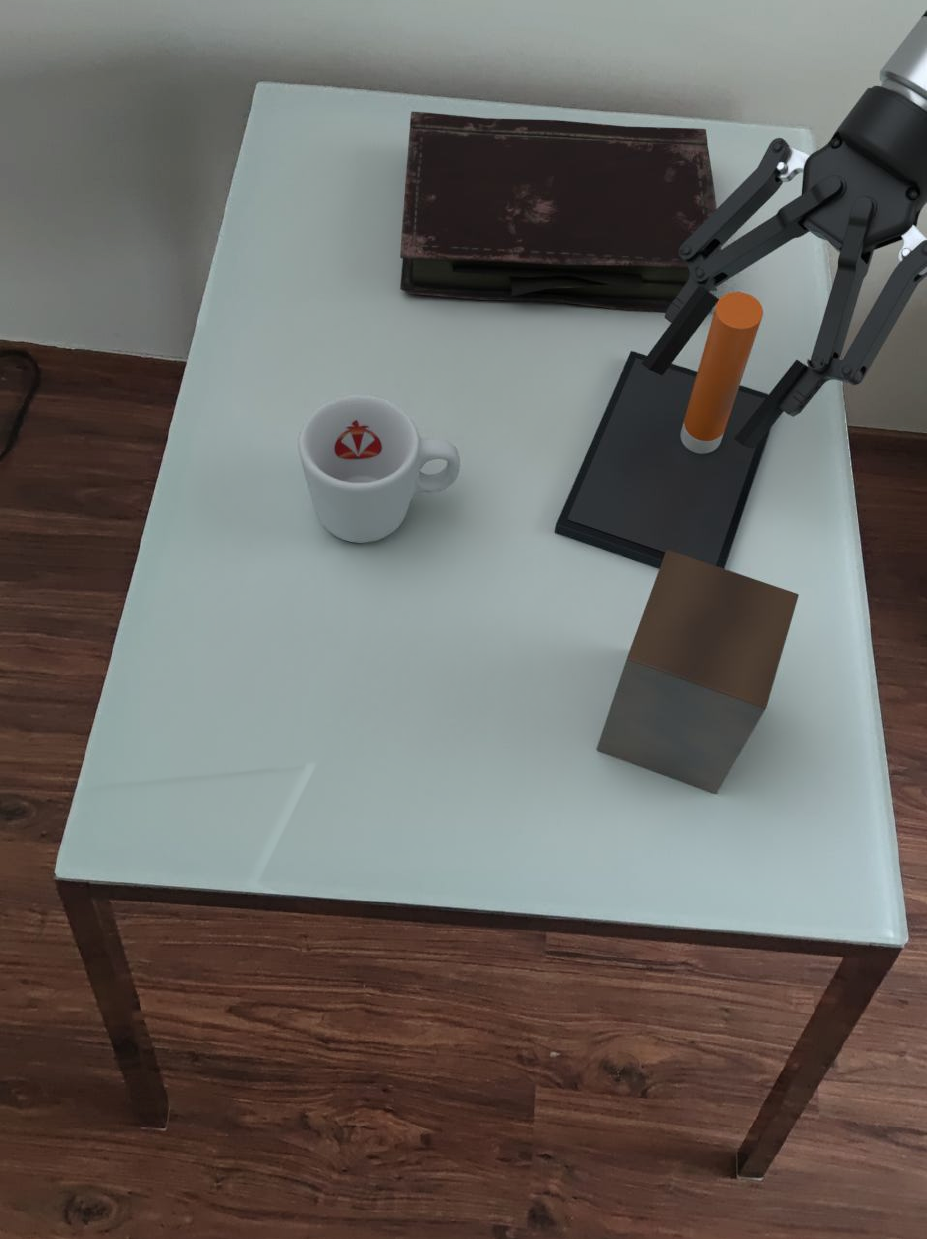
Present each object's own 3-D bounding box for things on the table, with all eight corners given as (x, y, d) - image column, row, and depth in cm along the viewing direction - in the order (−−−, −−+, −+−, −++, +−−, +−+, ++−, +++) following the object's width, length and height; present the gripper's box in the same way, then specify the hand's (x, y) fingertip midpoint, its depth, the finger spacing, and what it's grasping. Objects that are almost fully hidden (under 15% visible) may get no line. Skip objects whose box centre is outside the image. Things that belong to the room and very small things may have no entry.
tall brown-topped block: (747, 690, 80) (799, 593, 70) (716, 794, 76) (766, 708, 66) (632, 649, 82) (666, 548, 71) (595, 750, 78) (626, 658, 67)
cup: (449, 460, 89) (454, 386, 82) (464, 549, 85) (470, 479, 78) (301, 471, 88) (294, 397, 81) (309, 562, 84) (302, 492, 77)
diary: (410, 152, 107) (411, 101, 102) (694, 168, 107) (706, 119, 103) (399, 305, 97) (399, 257, 93) (710, 322, 98) (725, 275, 93)
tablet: (777, 406, 93) (781, 396, 92) (716, 588, 85) (720, 580, 84) (628, 359, 95) (631, 349, 94) (554, 532, 86) (555, 523, 85)
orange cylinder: (725, 427, 90) (768, 299, 78) (715, 459, 89) (756, 334, 76) (686, 415, 91) (722, 286, 78) (675, 447, 89) (710, 321, 77)
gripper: (1062, 218, 77) (824, 502, 85) (809, 57, 84) (612, 330, 92) (1054, 185, 70) (797, 495, 78) (780, 12, 78) (570, 311, 86)
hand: (697, 405), depth 85 cm, fingers open, 8 cm apart
